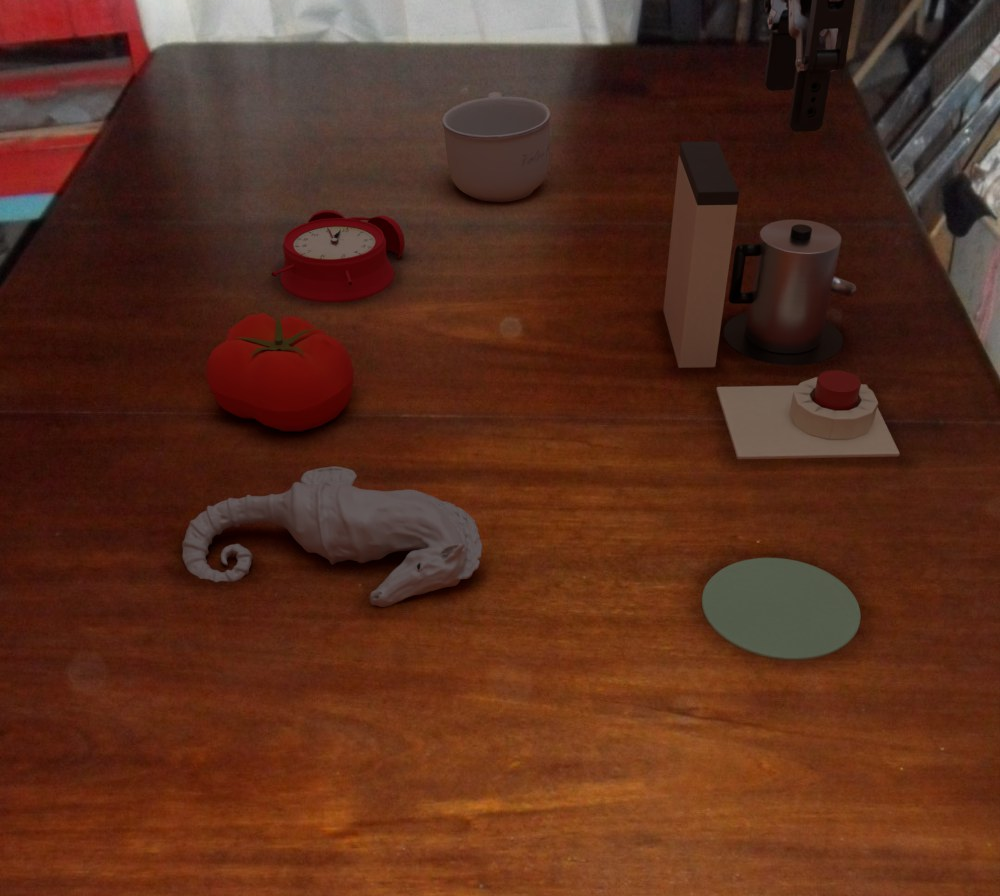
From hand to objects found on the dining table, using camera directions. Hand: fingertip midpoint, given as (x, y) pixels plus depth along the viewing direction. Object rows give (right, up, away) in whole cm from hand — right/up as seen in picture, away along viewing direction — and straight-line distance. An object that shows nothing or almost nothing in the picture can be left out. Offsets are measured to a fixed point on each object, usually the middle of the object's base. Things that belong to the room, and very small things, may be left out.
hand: (791, 108), depth 85 cm
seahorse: (-32, -34, -5) cm, 47 cm away
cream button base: (+2, -22, +6) cm, 23 cm away
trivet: (-3, -37, -9) cm, 38 cm away
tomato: (-38, -20, +9) cm, 43 cm away
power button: (+4, -20, +4) cm, 21 cm away
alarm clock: (-35, -2, +26) cm, 44 cm away
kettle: (+3, -11, +15) cm, 19 cm away
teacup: (-21, +12, +40) cm, 47 cm away
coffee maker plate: (+3, -12, +16) cm, 20 cm away
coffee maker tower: (-5, -12, +16) cm, 21 cm away
